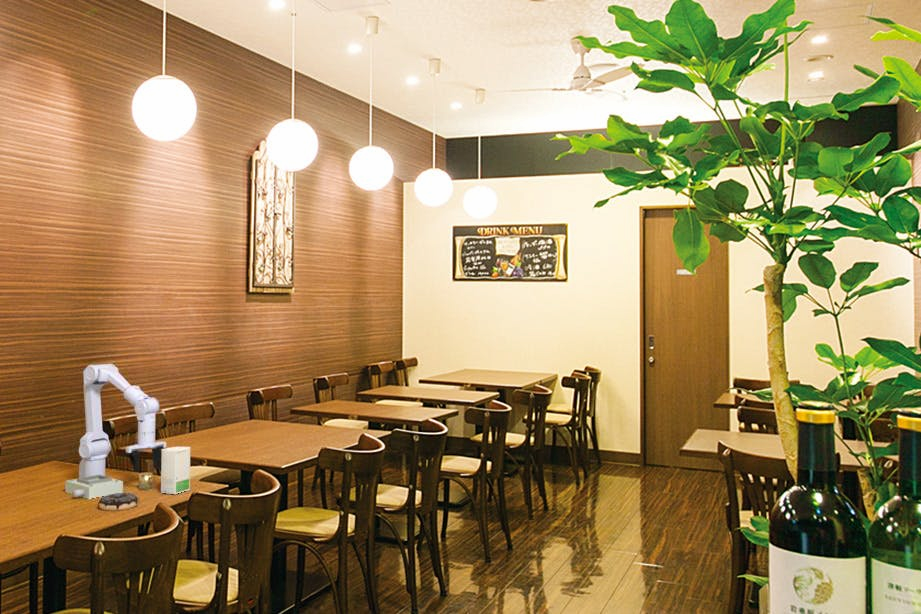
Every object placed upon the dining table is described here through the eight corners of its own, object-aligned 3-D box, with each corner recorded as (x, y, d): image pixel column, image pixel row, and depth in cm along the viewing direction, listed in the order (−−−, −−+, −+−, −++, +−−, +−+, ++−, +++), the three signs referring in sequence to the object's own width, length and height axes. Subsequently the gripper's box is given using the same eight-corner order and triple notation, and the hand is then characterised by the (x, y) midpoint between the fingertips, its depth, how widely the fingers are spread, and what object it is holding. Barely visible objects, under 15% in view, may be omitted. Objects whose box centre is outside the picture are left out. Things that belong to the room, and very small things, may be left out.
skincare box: (174, 495, 254) (175, 450, 255) (159, 493, 257) (160, 449, 257) (190, 490, 262) (191, 446, 263) (175, 488, 265) (176, 445, 265)
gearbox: (56, 493, 254) (56, 479, 254) (98, 486, 267) (99, 472, 267) (80, 501, 245) (80, 486, 245) (122, 492, 257) (123, 478, 257)
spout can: (136, 489, 263) (136, 473, 263) (147, 486, 266) (148, 471, 266) (145, 491, 260) (145, 476, 260) (156, 489, 263) (156, 473, 263)
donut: (110, 502, 244) (110, 490, 244) (145, 504, 244) (145, 492, 244) (91, 511, 233) (92, 499, 233) (127, 512, 233) (128, 500, 233)
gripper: (133, 435, 255) (133, 474, 255) (171, 430, 267) (170, 468, 267) (122, 433, 259) (122, 472, 259) (160, 428, 271) (159, 465, 271)
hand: (146, 470), depth 263 cm, fingers open, 7 cm apart
